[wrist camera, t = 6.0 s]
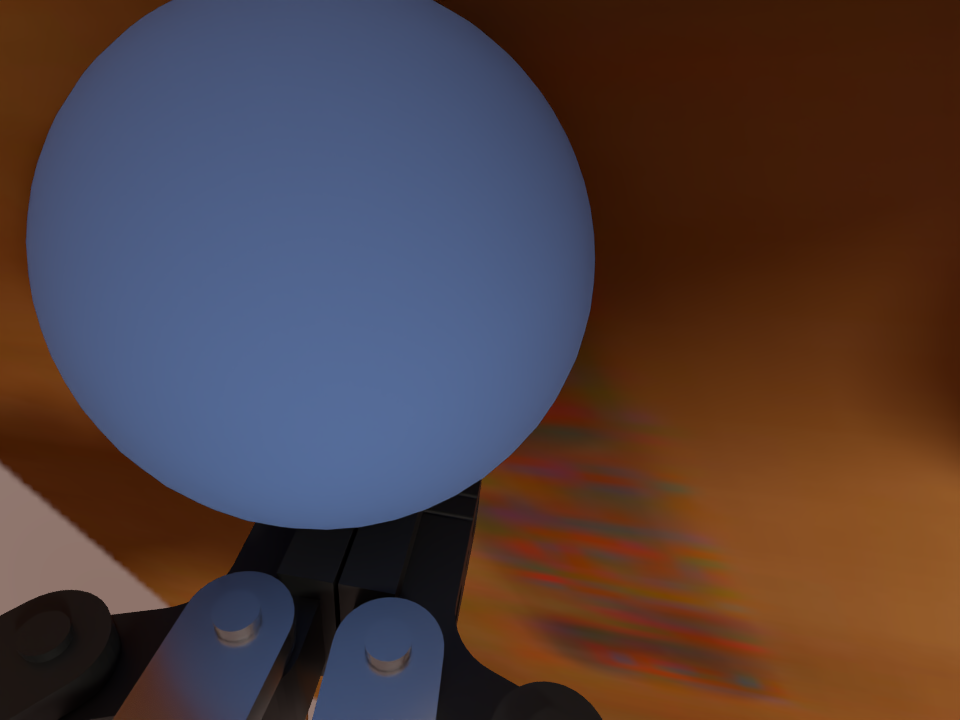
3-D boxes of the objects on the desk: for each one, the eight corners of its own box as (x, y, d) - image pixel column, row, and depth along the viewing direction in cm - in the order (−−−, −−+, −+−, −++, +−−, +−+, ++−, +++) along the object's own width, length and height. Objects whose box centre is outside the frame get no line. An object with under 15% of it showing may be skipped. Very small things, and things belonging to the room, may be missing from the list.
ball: (622, 308, 11) (708, -99, 6) (485, 675, 8) (444, 443, 3) (306, 218, 13) (175, -170, 8) (88, 503, 10) (-351, 160, 5)
